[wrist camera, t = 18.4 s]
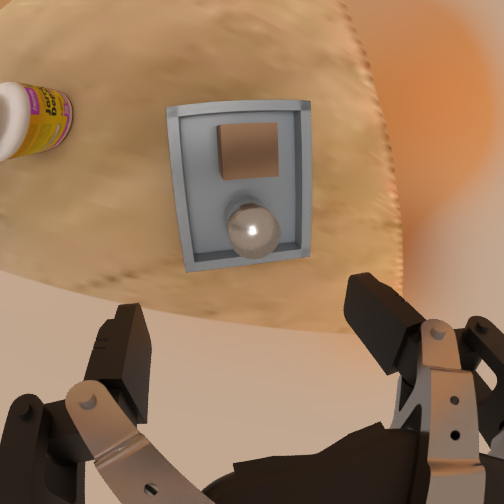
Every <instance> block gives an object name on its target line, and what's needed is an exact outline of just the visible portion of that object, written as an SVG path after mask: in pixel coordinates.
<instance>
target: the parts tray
mask: <svg viewBox="0 0 504 504" xmlns="http://www.w3.org/2000/svg"><path fill="white" fill-rule="evenodd" d="M166 114H167V128H168V140H169V151H170V161H171V171H172V180H173V188H174V196H175V204H176V212H177V219H178V226H179V233H180V239H181V245H182V252H183V258H184V264H185V269H186V273H187V272H195V271H203V270H211V269H219V268H227V267H235V266H243V265H251V264H258V263H266V262H274V261H281V260H289V259H296V258H304V257H310V243H311V210H312V135H311V103H310V101H304V100H237V101H219V102H207V103H196V104H187V105H179V106H171V107H166ZM269 122H277V123H278V157H279V177H262V178H248V179H235V180H223V178H222V176H221V174H220V172H219V162H218V146H217V129H216V126H218V125H222V124H238V123H269ZM242 195H250V196H253V197H255V198H257V199H259V200H260V201H261V202H262V203H263V204H264V206H265V207H266V208H267V209H268V210H269V211H270V212H271V214H272V215H273V216H274V217H275V218H276V220H277V221H278V223H279V225H280V228H281V237H280V241H279V243H278V245H277V247H276V248H275V250H274V251H273V252H271V253H270V254H269V255H267V256H265V257H263V258H260V259H247V258H244V257H242V256H240V255H238V254H237V253H236V252H235V251H234V249H233V248H232V246H231V243H230V240H229V237H228V233H227V230H226V227H225V223H224V219H223V215H224V210H225V208H226V206H227V205H228V203H229V202H230V201H231V200H233V199H234V198H236V197H238V196H242Z"/></svg>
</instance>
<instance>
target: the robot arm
mask: <svg viewBox="0 0 504 504" xmlns="http://www.w3.org/2000/svg"><path fill="white" fill-rule="evenodd" d="M344 316H345V319H346V321H347V322H348V324H349V325H350V326H351V328H352V329H353V330H354V332H355V333H356V334H357V336H358V337H359V338H360V339H361V341H362V342H363V344H365V346H366V348H367V349H368V350H369V352H370V353H371V354H372V356H373V357H374V358H375V359H376V361H377V362H378V364H379V365H380V366H381V368H382V369H383V371H384V372H385V373H386V375H387V376H388V375H390V374H393V373H395V372H398V371H399V373H400V376H399V379H398V386H397V395H396V405H395V411H394V418H393V421H392V424H391V426H390V428H389V429H385V428H384V426H383V425H382V423H381V422H378V423H375V424H373V425H371V426H368V427H366V428H363V429H361V430H358V431H355V432H353V433H350V434H348V435H347V436H345V437H344V438H342V439H341V440H339V441H337V442H336V443H335V444H333V445H331V446H329V447H328V448H326V449H324V450H323V451H321V452H319V453H317V454H313V455H295V456H271V457H266V458H261V459H255V460H250V461H244V462H238V463H233V467H234V472H232V473H229V474H227V475H225V476H223V477H221V478H219V479H217V480H215V481H214V482H212V483H211V484H209V485H208V486H207V487H206V488H204V489H203V490H202V491H200V490H199V489H197V488H196V487H195V486H194V485H193V484H192V483H191V482H189V481H188V480H187V479H186V478H185V477H184V476H183V475H182V474H181V473H180V472H179V471H178V470H177V469H176V468H175V467H174V466H172V464H171V463H169V461H168V460H167V459H166V458H165V457H164V456H163V455H162V454H161V453H160V452H159V451H158V450H157V449H156V448H155V447H154V446H153V445H152V444H151V442H150V441H149V440H148V439H147V438H146V437H145V436H144V435H143V434H142V433H140V432H139V431H138V429H137V424H146V423H147V413H148V412H147V411H148V392H149V377H150V364H151V353H152V347H151V340H150V335H149V332H148V329H147V326H146V323H145V319H144V316H143V312H142V309H141V306H140V304H139V303H134V304H122V305H119V306H118V308H117V311H116V315H115V318H114V319H108V320H107V321H106V322H105V323H104V324H103V325H102V326H101V327H100V329H99V331H98V334H97V337H96V341H95V343H94V347H93V350H92V353H91V356H90V359H89V363H88V366H87V370H86V373H85V377H84V380H83V381H82V382H79V383H77V384H76V385H74V386H73V387H72V388H71V389H70V390H69V392H68V393H67V396H66V399H64V400H60V401H56V402H52V403H47V404H43V402H42V401H41V400H40V399H39V398H38V397H37V396H36V395H33V394H24V395H21V396H19V397H18V398H17V399H16V400H15V401H14V402H13V403H12V405H11V406H10V409H9V412H8V416H7V419H6V423H5V427H4V431H3V434H2V439H1V443H0V504H85V461H90V460H94V459H95V460H96V461H95V462H94V464H95V467H96V469H97V470H98V472H99V473H100V475H101V476H102V478H103V479H104V481H105V482H106V483H107V485H108V486H109V488H110V489H111V490H112V492H113V493H114V494H115V495H116V497H117V498H118V499H119V501H120V502H121V503H122V504H504V334H503V333H502V332H501V331H500V330H499V329H498V328H496V326H495V325H494V324H493V323H492V322H490V321H489V320H488V319H486V318H484V317H481V316H472V317H470V318H469V320H468V322H467V324H466V326H465V328H462V329H453V328H452V327H451V326H450V325H449V324H447V323H445V322H444V321H441V320H437V319H429V320H426V319H424V317H422V315H420V314H419V313H418V312H417V311H416V310H415V309H414V308H413V307H412V306H411V305H410V304H409V303H407V302H405V300H404V299H403V298H402V297H401V296H399V294H398V293H397V292H396V291H395V290H393V289H392V288H391V287H389V286H388V285H386V284H383V283H381V282H379V281H378V280H377V279H376V278H375V277H374V276H373V275H372V274H370V273H369V272H366V273H360V274H354V275H351V276H350V277H349V280H348V285H347V291H346V297H345V303H344ZM482 359H483V360H484V362H485V363H486V364H487V365H488V366H489V367H490V368H491V370H492V371H493V372H494V373H495V374H496V377H497V385H496V387H495V388H494V390H493V391H492V390H491V389H490V388H489V387H488V385H487V384H486V383H485V382H484V380H483V379H482V378H481V377H480V376H479V374H478V373H477V372H476V371H475V370H476V369H477V367H478V365H479V364H480V362H481V360H482ZM478 430H479V431H478ZM479 432H480V433H481V435H482V436H483V438H484V439H485V441H486V442H487V444H488V446H489V447H490V449H491V451H490V452H489V453H488V454H487V455H486V454H482V453H479Z"/></svg>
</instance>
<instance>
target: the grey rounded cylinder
mask: <svg viewBox="0 0 504 504" xmlns="http://www.w3.org/2000/svg"><path fill="white" fill-rule="evenodd" d="M223 219H224V223H225V227H226V230H227V233H228V237H229V240H230V243H231V246H232V248H233V249H234V251H235V252H236V253H237V254H238V255H240V256H242V257H244V258H247V259H260V258H263V257H265V256H267V255H269V254H270V253H271V252H273V251H274V250H275V248H276V247H277V245H278V243H279V241H280V237H281V228H280V225H279V223H278V221H277V220H276V218H275V217H274V216H273V215H272V214H271V212H270V211H269V210H268V209H267V208H266V207H265V206H264V204H263V203H262V202H261V201H260V200H259V199H257V198H255V197H253V196H250V195H242V196H238V197H236V198H234V199H233V200H231V201H230V202H229V203H228V205H227V206H226V208H225V210H224V215H223Z"/></svg>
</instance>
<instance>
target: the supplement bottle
mask: <svg viewBox="0 0 504 504" xmlns="http://www.w3.org/2000/svg"><path fill="white" fill-rule="evenodd" d="M71 121H72V107H71V104H70V101H69V99H68V98H67V97H66V96H65V95H64V94H63V93H61V92H59V91H56V90H52V89H48V88H43V87H38V86H33V85H28V84H22V83H17V82H4V83H1V84H0V162H1V161H4V160H8V159H12V158H16V157H20V156H24V155H29V154H33V153H38V152H43V151H47V150H50V149H52V148H54V147H56V146H57V145H58V144H59V143H60V142H61V141H62V140H63V139H64V138H65V136H66V134H67V133H68V130H69V128H70V125H71Z"/></svg>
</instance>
